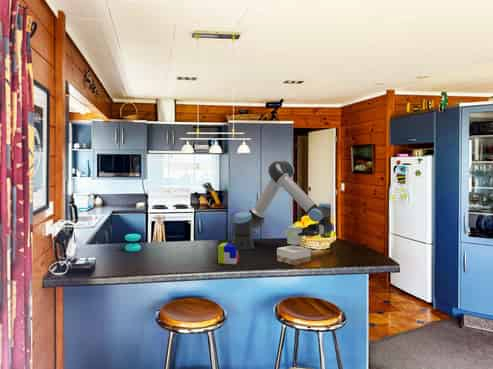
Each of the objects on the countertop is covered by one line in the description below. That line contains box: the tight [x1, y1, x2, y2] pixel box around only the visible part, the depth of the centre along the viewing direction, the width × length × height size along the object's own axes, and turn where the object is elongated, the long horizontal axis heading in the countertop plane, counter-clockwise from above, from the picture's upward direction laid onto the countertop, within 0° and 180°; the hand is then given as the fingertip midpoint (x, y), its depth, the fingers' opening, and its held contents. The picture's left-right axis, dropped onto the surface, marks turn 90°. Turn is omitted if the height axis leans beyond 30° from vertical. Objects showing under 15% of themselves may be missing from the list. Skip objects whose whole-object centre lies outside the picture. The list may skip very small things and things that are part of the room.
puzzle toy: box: [217, 242, 240, 265], centre depth 239 cm, size 10×10×10 cm
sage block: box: [286, 224, 303, 246], centre depth 241 cm, size 6×6×10 cm
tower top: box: [276, 244, 312, 260], centre depth 241 cm, size 14×14×4 cm
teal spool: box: [124, 233, 142, 252], centre depth 266 cm, size 10×10×10 cm
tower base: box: [276, 254, 312, 266], centre depth 242 cm, size 14×14×4 cm
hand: (289, 234), depth 237 cm, fingers closed on sage block, 6 cm apart
